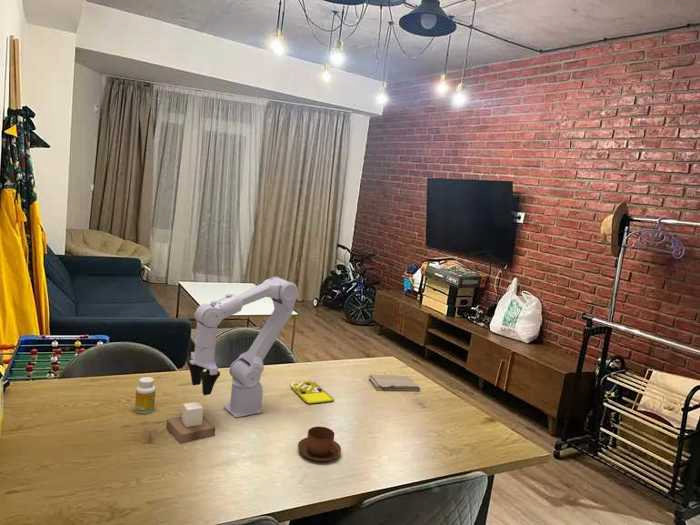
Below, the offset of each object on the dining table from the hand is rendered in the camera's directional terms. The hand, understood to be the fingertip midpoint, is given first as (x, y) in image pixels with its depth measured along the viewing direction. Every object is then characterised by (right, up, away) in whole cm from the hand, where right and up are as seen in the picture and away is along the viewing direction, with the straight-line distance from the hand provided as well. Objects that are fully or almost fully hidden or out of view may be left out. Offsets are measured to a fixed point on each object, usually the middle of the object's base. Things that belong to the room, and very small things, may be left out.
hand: (201, 389), depth 153 cm
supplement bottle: (-18, -7, +3) cm, 19 cm away
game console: (+30, -10, +31) cm, 44 cm away
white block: (-1, -8, -6) cm, 10 cm away
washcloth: (+61, -11, +48) cm, 78 cm away
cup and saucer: (+35, -16, -9) cm, 40 cm away
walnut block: (-1, -11, -6) cm, 13 cm away
